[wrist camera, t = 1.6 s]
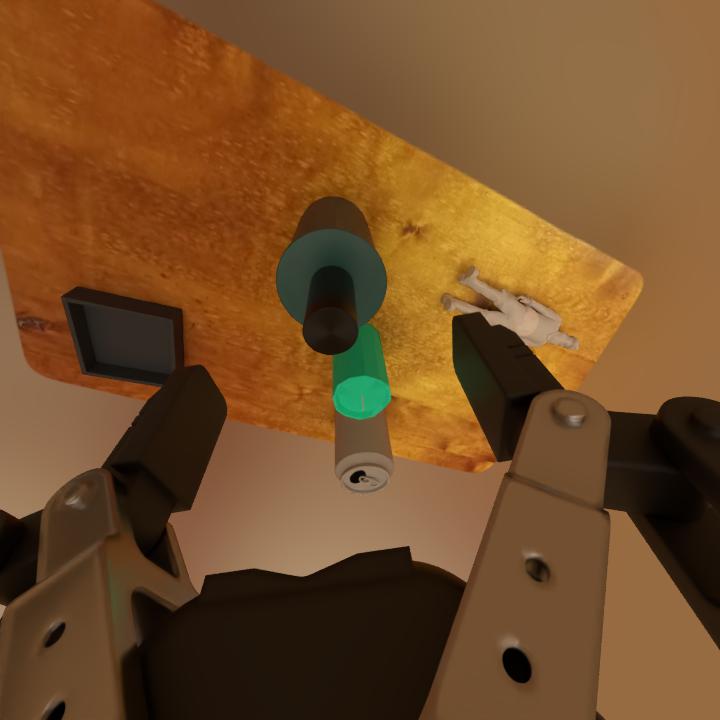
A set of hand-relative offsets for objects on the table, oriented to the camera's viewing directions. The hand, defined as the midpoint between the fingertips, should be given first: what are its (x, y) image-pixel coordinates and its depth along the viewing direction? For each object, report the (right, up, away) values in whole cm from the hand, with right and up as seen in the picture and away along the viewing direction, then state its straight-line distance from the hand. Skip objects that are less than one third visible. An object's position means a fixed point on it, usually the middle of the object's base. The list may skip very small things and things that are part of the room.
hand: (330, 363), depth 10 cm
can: (+1, -8, +38) cm, 38 cm away
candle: (+1, +3, +30) cm, 30 cm away
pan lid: (-1, +5, +12) cm, 13 cm away
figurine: (+19, +6, +28) cm, 35 cm away
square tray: (-26, +3, +28) cm, 38 cm away
